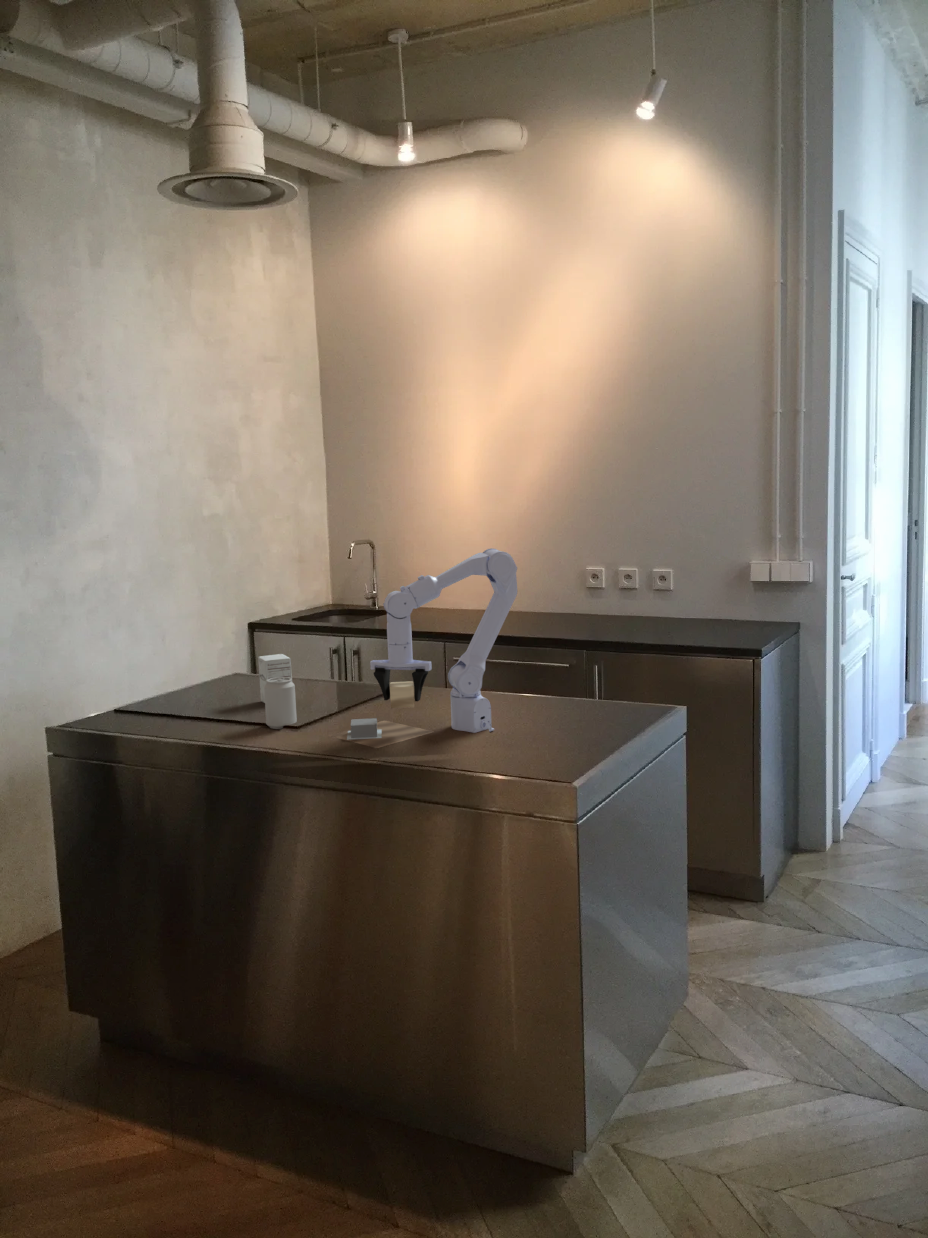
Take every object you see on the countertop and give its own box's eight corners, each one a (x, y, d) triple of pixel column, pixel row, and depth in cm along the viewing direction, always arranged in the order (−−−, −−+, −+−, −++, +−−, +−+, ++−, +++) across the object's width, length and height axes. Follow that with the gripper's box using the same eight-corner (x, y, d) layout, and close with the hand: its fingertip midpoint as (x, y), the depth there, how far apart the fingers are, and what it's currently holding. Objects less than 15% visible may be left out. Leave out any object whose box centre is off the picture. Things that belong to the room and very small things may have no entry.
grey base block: (377, 737, 256) (376, 724, 255) (351, 738, 255) (350, 725, 255) (377, 730, 262) (376, 718, 261) (352, 731, 261) (351, 719, 261)
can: (260, 728, 272) (257, 680, 270) (278, 721, 278) (276, 674, 276) (284, 731, 268) (281, 683, 266) (303, 723, 275) (300, 676, 273)
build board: (435, 735, 259) (435, 731, 259) (377, 752, 246) (377, 748, 246) (385, 724, 271) (384, 720, 271) (327, 739, 259) (327, 735, 259)
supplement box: (260, 701, 302) (257, 656, 300) (286, 698, 305) (283, 653, 303) (267, 706, 295) (264, 660, 293) (294, 703, 298) (291, 657, 296)
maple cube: (414, 707, 256) (413, 686, 255) (390, 708, 255) (389, 687, 254) (413, 701, 261) (413, 681, 260) (390, 703, 261) (389, 682, 260)
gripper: (434, 640, 257) (437, 697, 260) (376, 639, 262) (379, 695, 264) (425, 645, 251) (427, 704, 253) (365, 644, 255) (368, 701, 257)
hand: (402, 700), depth 258 cm, fingers closed on maple cube, 7 cm apart
